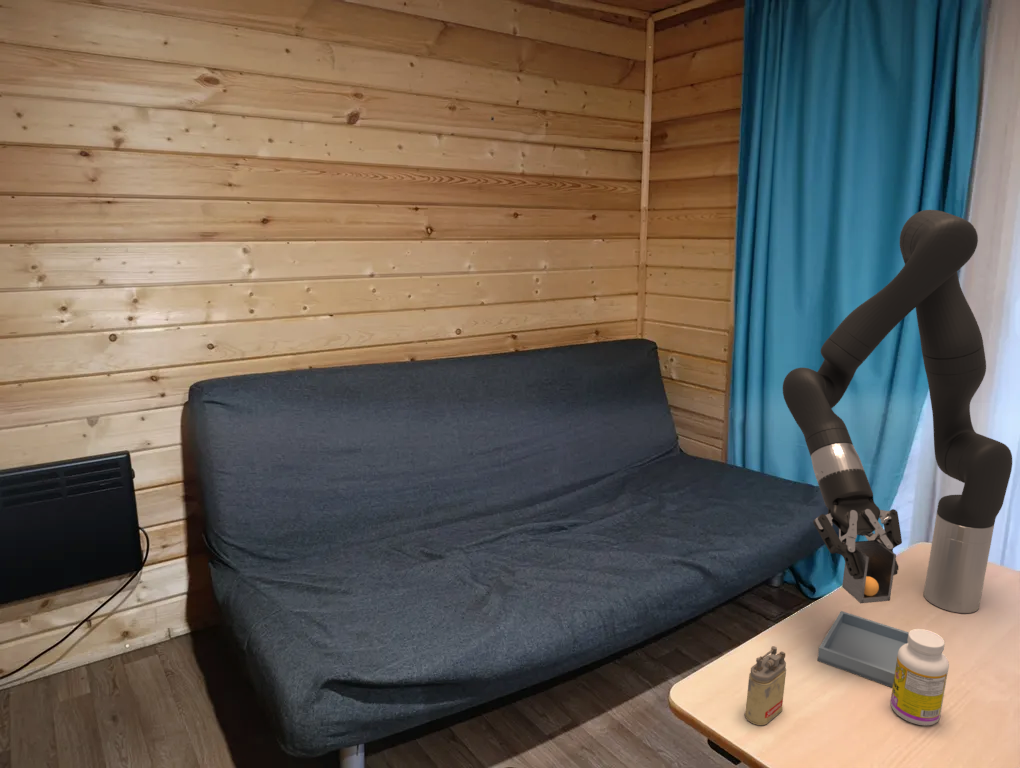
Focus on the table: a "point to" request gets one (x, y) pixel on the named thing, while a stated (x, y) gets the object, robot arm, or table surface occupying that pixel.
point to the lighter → (766, 688)
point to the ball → (871, 586)
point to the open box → (871, 571)
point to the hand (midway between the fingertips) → (876, 576)
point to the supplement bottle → (920, 678)
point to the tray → (863, 647)
